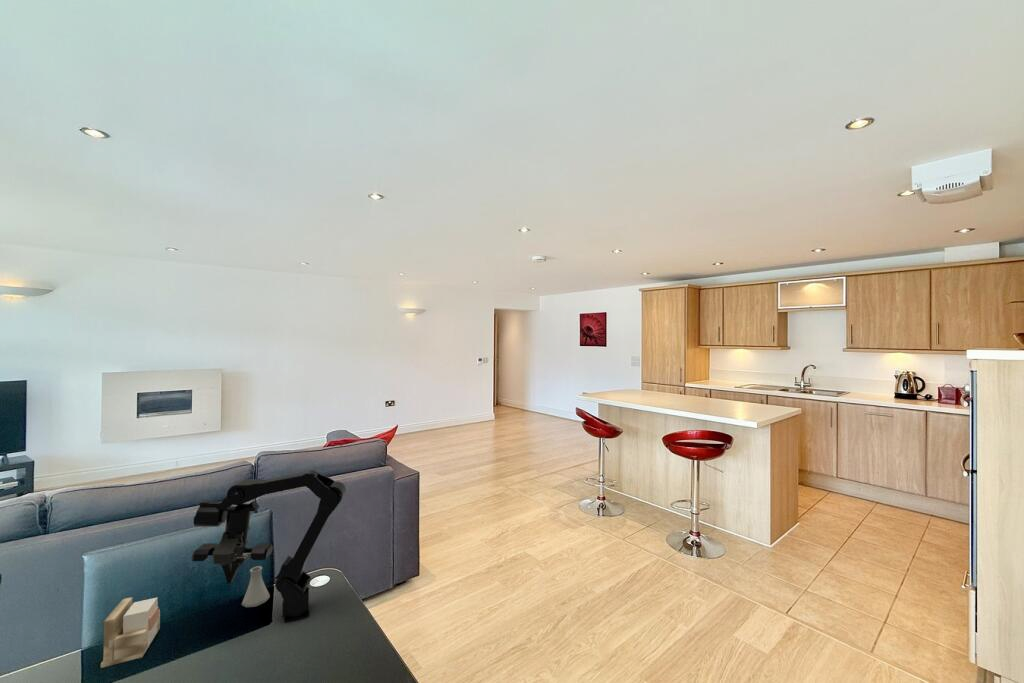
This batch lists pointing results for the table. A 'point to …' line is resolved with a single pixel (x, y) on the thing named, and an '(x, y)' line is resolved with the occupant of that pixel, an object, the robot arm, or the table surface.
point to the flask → (255, 589)
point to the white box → (142, 618)
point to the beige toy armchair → (123, 637)
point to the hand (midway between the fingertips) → (229, 583)
